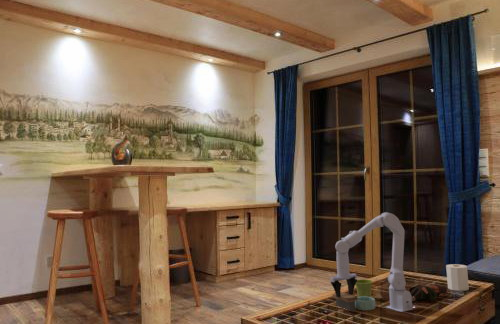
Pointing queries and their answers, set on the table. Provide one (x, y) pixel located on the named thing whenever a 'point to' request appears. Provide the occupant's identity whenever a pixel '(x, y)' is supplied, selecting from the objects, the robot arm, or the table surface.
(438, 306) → the table surface
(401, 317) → the table surface
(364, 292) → the plant pot
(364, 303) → the bowl
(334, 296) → the walnut board
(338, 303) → the grey rectangular block
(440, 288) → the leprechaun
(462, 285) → the toilet paper
